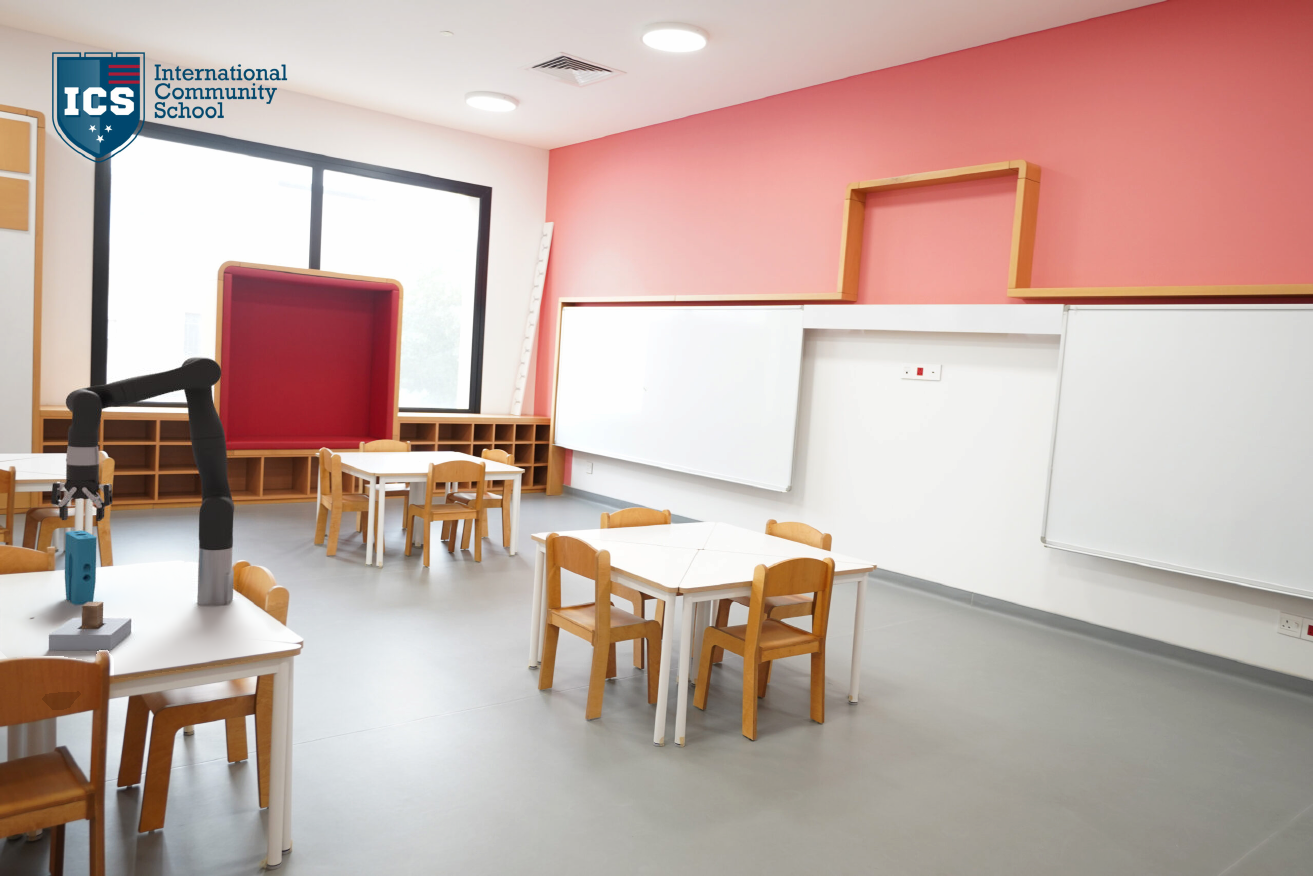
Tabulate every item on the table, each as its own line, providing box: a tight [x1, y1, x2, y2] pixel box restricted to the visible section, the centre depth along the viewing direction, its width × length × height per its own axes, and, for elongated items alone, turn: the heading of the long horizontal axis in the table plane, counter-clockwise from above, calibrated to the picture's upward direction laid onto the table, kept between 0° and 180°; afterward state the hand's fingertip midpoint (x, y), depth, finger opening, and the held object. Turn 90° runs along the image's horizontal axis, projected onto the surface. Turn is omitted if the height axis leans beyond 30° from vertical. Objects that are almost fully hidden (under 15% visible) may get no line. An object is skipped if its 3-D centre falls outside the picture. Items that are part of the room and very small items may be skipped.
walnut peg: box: [81, 601, 104, 629], centre depth 226 cm, size 4×4×10 cm
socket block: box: [48, 617, 132, 651], centre depth 226 cm, size 14×14×4 cm
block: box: [64, 530, 97, 606], centre depth 258 cm, size 12×5×20 cm, turn 50°
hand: (81, 520), depth 240 cm, fingers open, 8 cm apart
